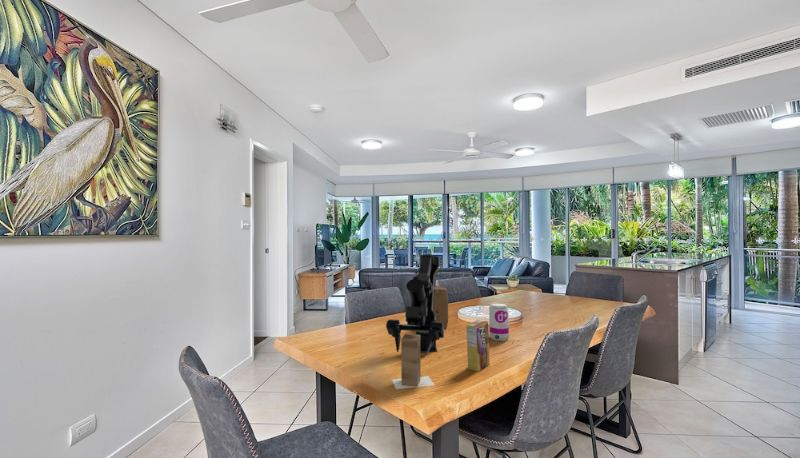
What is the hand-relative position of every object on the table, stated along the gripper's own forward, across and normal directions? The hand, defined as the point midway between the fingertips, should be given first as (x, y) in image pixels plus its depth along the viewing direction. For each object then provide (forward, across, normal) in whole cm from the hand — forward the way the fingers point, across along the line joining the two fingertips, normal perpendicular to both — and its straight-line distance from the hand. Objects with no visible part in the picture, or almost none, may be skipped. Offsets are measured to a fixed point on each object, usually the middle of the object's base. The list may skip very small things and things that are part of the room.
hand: (411, 352), depth 108 cm
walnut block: (+7, 0, +6) cm, 9 cm away
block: (-42, 0, +54) cm, 68 cm away
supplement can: (-31, +29, +44) cm, 61 cm away
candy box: (-6, +20, +19) cm, 28 cm away
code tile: (+7, 0, +6) cm, 9 cm away
